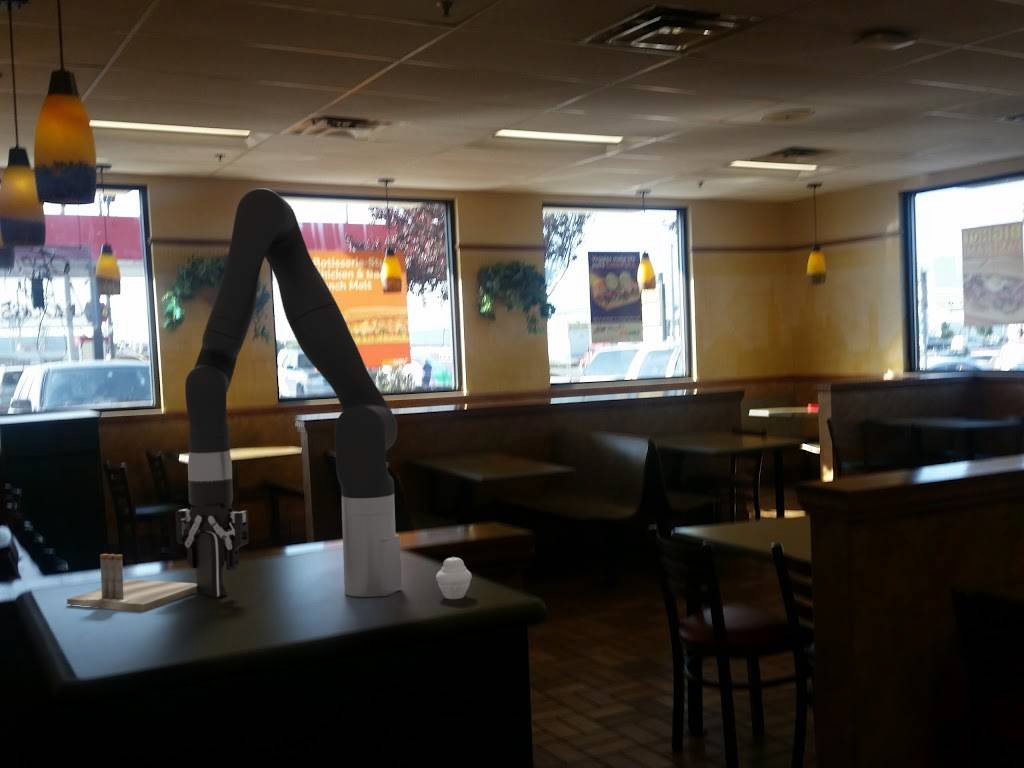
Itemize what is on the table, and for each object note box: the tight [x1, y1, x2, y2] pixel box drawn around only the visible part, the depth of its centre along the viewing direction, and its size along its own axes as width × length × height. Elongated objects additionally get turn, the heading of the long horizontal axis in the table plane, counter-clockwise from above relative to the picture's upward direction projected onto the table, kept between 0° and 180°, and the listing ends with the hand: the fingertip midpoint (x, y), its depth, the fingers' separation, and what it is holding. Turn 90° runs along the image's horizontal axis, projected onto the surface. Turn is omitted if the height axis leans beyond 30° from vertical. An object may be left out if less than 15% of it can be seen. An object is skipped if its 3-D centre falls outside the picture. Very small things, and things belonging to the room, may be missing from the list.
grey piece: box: [435, 556, 473, 600], centre depth 178 cm, size 6×6×7 cm
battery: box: [195, 531, 228, 598], centre depth 185 cm, size 7×4×11 cm, turn 43°
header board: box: [66, 553, 198, 612], centre depth 184 cm, size 16×16×9 cm
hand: (213, 568), depth 185 cm, fingers closed on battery, 7 cm apart
